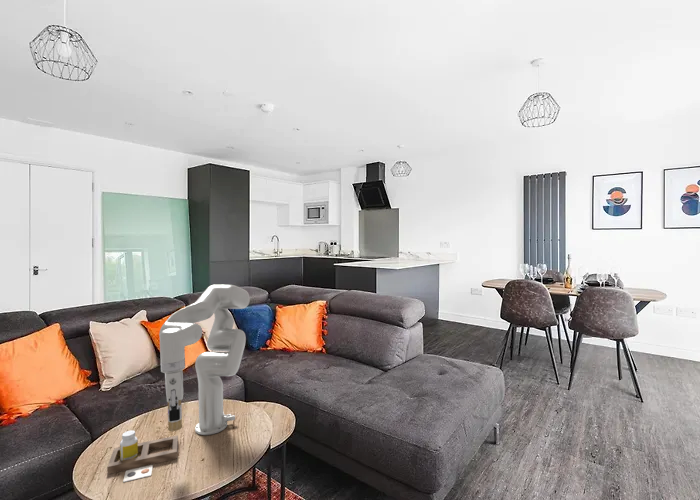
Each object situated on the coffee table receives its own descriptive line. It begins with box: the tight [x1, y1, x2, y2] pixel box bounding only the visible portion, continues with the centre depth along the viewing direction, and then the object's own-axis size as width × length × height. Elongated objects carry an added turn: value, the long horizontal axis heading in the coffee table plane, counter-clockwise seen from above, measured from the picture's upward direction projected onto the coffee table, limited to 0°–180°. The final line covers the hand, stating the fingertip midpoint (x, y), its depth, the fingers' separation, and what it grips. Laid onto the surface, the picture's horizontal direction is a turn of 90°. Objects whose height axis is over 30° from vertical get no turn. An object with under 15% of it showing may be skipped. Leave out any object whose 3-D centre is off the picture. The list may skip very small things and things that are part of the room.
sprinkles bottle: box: [167, 390, 183, 433], centre depth 124 cm, size 5×5×13 cm
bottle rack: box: [106, 435, 179, 475], centre depth 130 cm, size 21×12×2 cm, turn 114°
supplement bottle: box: [119, 429, 139, 461], centre depth 128 cm, size 5×5×10 cm
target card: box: [122, 464, 154, 483], centre depth 121 cm, size 8×6×1 cm
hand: (175, 416), depth 125 cm, fingers closed on sprinkles bottle, 4 cm apart
